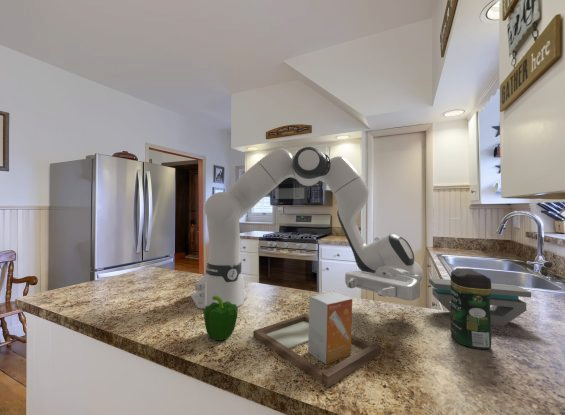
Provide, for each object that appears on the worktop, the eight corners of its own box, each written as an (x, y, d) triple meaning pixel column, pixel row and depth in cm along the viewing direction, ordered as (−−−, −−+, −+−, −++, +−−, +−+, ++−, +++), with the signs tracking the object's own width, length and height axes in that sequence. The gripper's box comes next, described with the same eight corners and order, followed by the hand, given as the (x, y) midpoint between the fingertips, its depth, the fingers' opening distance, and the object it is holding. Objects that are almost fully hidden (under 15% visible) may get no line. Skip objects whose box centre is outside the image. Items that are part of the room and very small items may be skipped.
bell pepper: (243, 336, 67) (244, 297, 67) (215, 347, 61) (216, 305, 62) (225, 326, 73) (226, 290, 73) (198, 335, 67) (199, 296, 68)
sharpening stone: (515, 319, 83) (515, 285, 83) (531, 329, 75) (531, 292, 76) (428, 309, 90) (428, 277, 91) (434, 317, 83) (434, 283, 83)
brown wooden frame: (253, 336, 67) (253, 328, 67) (305, 318, 79) (305, 312, 79) (327, 387, 48) (328, 376, 48) (381, 353, 60) (381, 345, 60)
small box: (326, 365, 55) (327, 304, 55) (307, 352, 60) (308, 295, 61) (352, 355, 59) (353, 298, 60) (332, 343, 65) (333, 291, 65)
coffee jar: (446, 331, 73) (446, 265, 74) (479, 335, 71) (479, 267, 71) (458, 347, 64) (459, 272, 64) (496, 353, 62) (497, 275, 62)
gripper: (359, 264, 86) (332, 270, 77) (425, 276, 70) (401, 284, 61) (359, 283, 85) (332, 291, 76) (425, 299, 70) (401, 311, 61)
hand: (363, 288), depth 69 cm, fingers open, 8 cm apart
